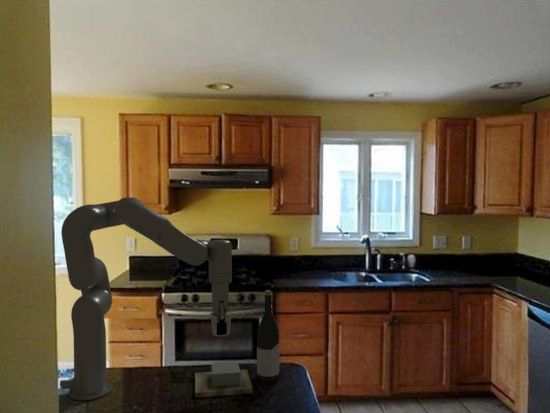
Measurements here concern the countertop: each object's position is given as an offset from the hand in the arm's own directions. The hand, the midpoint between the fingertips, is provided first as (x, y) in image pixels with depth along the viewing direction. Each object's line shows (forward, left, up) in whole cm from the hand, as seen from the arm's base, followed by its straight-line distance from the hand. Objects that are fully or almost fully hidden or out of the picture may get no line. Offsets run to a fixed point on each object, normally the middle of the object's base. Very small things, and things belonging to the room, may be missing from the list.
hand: (221, 331), depth 145 cm
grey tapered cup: (0, 0, -1) cm, 1 cm away
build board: (0, 0, -18) cm, 18 cm away
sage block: (+1, 0, -16) cm, 16 cm away
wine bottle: (+16, +4, -18) cm, 25 cm away
